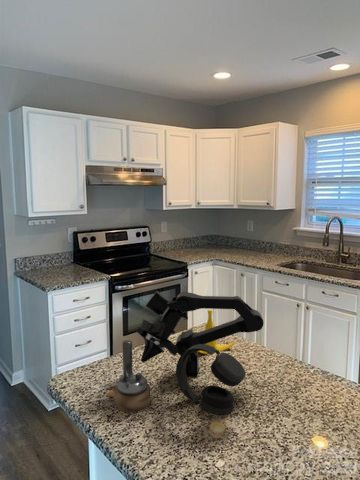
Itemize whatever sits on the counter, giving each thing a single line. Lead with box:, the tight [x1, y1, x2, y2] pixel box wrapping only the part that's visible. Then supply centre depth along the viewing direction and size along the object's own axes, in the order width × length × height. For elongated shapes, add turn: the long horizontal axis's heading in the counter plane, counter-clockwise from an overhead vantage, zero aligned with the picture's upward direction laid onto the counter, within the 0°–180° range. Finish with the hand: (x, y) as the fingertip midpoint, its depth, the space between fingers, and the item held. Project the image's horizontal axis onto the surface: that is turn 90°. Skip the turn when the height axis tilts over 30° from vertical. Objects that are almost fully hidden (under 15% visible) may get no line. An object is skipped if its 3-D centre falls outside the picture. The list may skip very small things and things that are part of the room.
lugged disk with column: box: [117, 339, 148, 396], centre depth 114 cm, size 14×9×15 cm, turn 18°
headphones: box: [175, 344, 246, 415], centre depth 110 cm, size 18×8×20 cm
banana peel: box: [197, 309, 236, 355], centre depth 154 cm, size 16×19×17 cm
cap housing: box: [106, 383, 152, 413], centre depth 113 cm, size 15×11×4 cm
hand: (142, 361), depth 123 cm, fingers closed
